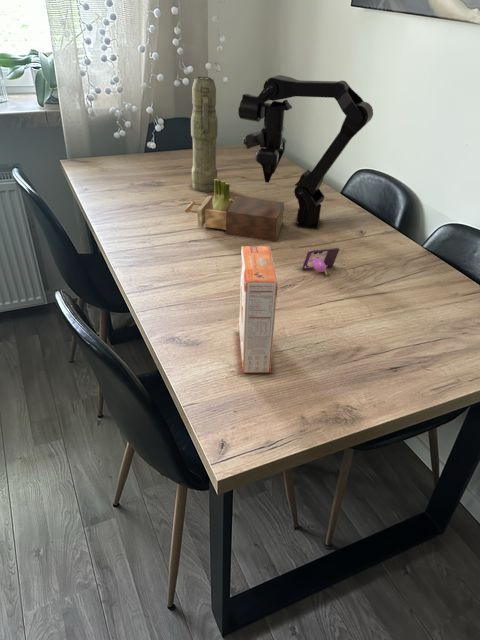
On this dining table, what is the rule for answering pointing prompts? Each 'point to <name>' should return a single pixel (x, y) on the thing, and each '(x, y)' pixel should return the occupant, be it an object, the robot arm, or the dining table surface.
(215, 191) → the fennel bulb
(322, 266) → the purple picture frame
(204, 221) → the drawer
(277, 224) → the cabinet
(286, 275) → the dining table surface
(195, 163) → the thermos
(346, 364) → the dining table surface
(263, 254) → the cracker box
